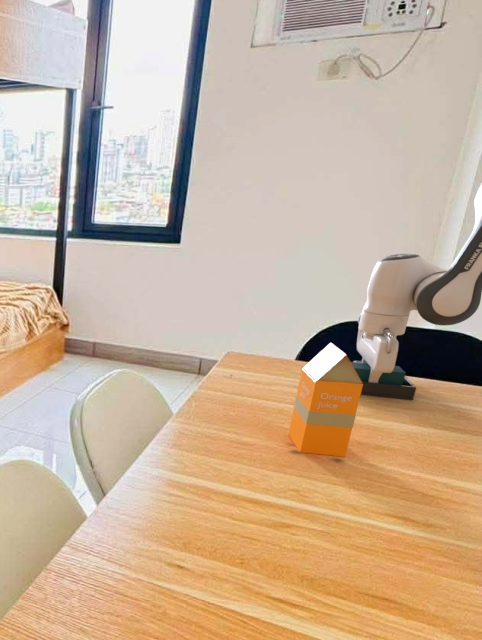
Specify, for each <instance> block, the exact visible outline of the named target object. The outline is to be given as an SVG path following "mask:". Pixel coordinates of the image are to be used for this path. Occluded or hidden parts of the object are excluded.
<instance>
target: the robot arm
mask: <svg viewBox="0 0 482 640" xmlns="http://www.w3.org/2000/svg"><path fill="white" fill-rule="evenodd" d="M473 203H474V213H475V218H474V219H475V221H474V226H473V229H472V232H471V234H470V235H469V237H468V239H467V241H466V242H465V244H464V245H463V247H462V248H461V250H460V251H459V253H458V254H457V256H456V257H455V259H454V261H453V262H452V263H451V265H450V266H449V268H448V269H445V268H442V267H439V266H437V265H434V264H433V263H431V262H429V261H427V260H426V259H424V258H423V257H421V255H419V254H416V253H398V254H391V255H386V256H384V257H383V258H381V259H380V260H378V261H377V262H376V264H375V266H374V267H373V270H372V273H371V275H370V279H369V282H368V286H367V289H366V295H367V296H366V297H367V298H366V302H365V304H364V306H363V307H362V312H361V314H359V315H358V319H357V323H358V327H357V329H358V331H357V338H356V351H357V352H358V353H359V355H360V356H361V357H362V358H361V361H362V363H367V364H369V365H370V367H371V372H370V375H369V376H368V380H367V382H372V383H378V380H379V378H380V376H381V374H382V373H391V372H392V371H393V369H394V367H395V366H396V363H397V362H396V361H397V357H398V352H399V346H400V345H399V344H400V343H399V341H398V339H397V336H403V335H404V334H405V332H406V329H407V326H408V321H409V318H410V314H411V311H417V313H418V314H419V316H420V317H421V318H422V319H423V320H424V321H425V322H428V323H430V324H432V325H436V326H453V325H458V324H460V323H463V322H465V321H467V320H468V319H470V318H471V317H472V316H473V315H474V314H475V313H476V312H477V310H479V309H478V308H479V307H480V303H481V300H482V183H481V184H480V186H479V187H478V190H477V193H476V194H475V197H474V200H473Z"/></svg>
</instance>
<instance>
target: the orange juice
mask: <svg viewBox="0 0 482 640" xmlns="http://www.w3.org/2000/svg"><path fill="white" fill-rule="evenodd" d="M351 362H352V361H351V360H350V359H349V357H348V355H347V353H346V352H344V351H343V350H341V349H340V348H339V347H338V346H337V345H335V344H334V343H332V342H329V343H328V344H327V345H326V346H325V347H324V348H323V349H321V350H320V351H319V352H318V353H317V354H316V355H315V356H314V357H313V358H312V359H310V360H309V361H308V363H307V364H305V365H304V366H303V367H302V368H301V372H300V378H299V381H298V386H297V392H296V396H295V400H294V405H293V410H292V414H291V415H292V416H291V419H290V424H289V429H288V433H287V435H288V437H289V438H290V440H291V441H292V443H293V444H294V446H295V447H296V449H297V450H298V452H299V453H303V454H314V455H323V456H332V457H333V456H334V457H342V458H343V457H346V455H347V452H348V451H347V450H348V447H349V443H350V437H351V435H352V430H353V428H354V424H355V421H356V420H355V419H356V416H357V415H356V414H357V410H358V406H359V403H360V398H361V391H362V387H363V383H362V381H361V379H360V378H359V376H358V374H357V372H356V371H355V369H354V367H353V365H352V364H351Z"/></svg>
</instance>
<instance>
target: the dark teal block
mask: <svg viewBox="0 0 482 640" xmlns="http://www.w3.org/2000/svg"><path fill="white" fill-rule="evenodd" d="M350 362H351V364H352V365H353V367H354V369H355V371H356V372H357V374H358V376H359V378H360V379H361V381H362V382H367V380H368V376H369V375H370V372H371V367H370V365H369V364H367V363H356V362H353V361H350ZM405 376H406V371H405V370H404V369H403V368H402V367H401V366H399V365H395V367H394V369H393V371H392V372H391V373H382V374H381V376H380V378H379V380H378V383H382V384H392V385H403V381H404V377H405Z"/></svg>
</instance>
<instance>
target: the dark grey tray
mask: <svg viewBox="0 0 482 640" xmlns="http://www.w3.org/2000/svg"><path fill="white" fill-rule="evenodd" d="M362 383H363V387H362V391H361V395H362V396H372V397H379V398H380V397H381V398H390V399H392V398H393V399H400V400H410V401H413V400H414V398H415V394H416V390H417V386H416V385H415V384H414V383H413V382H412V381H411V380H410V379H409V378H408V377H407V376H406V375H405V377H404V381H403V385H392V384H382V383H372V382H362ZM361 395H360V396H361Z"/></svg>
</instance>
